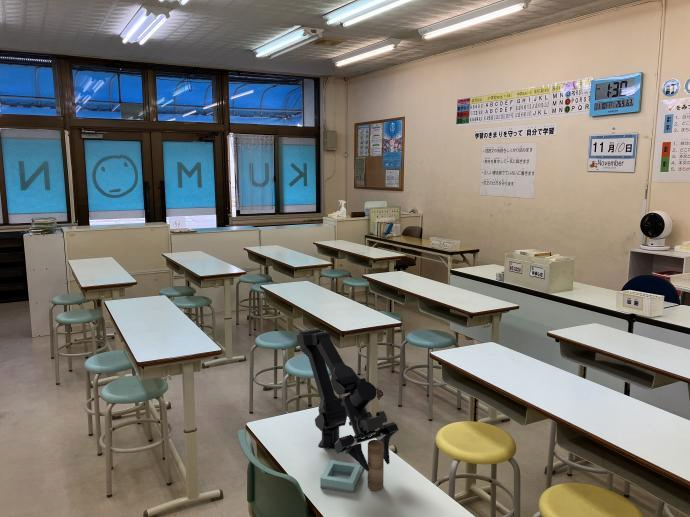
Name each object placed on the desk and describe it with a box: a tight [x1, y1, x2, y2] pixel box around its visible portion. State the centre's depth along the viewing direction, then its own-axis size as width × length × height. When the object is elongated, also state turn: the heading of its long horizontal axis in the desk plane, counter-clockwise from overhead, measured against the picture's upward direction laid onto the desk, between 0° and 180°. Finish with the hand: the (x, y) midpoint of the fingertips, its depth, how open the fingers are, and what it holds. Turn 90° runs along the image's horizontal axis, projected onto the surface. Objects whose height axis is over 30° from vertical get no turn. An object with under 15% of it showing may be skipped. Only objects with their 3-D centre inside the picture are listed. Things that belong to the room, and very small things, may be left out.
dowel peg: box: [367, 439, 385, 492], centre depth 150 cm, size 4×4×13 cm
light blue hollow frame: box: [319, 459, 365, 494], centre depth 155 cm, size 13×9×3 cm
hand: (378, 467), depth 148 cm, fingers open, 6 cm apart
